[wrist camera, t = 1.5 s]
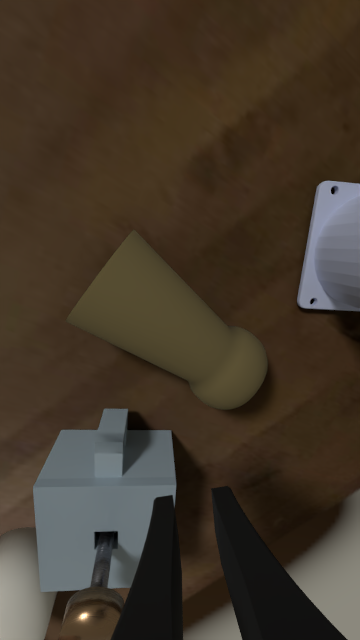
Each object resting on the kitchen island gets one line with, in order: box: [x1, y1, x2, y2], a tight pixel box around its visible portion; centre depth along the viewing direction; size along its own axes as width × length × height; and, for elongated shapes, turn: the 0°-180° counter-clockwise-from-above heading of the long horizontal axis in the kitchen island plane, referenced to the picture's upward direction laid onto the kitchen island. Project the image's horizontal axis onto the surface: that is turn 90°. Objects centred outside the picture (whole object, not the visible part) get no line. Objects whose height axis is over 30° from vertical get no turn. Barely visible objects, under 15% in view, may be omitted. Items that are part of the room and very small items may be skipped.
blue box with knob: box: [33, 409, 176, 592], centre depth 19 cm, size 8×10×5 cm
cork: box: [66, 230, 268, 410], centre depth 17 cm, size 6×6×11 cm
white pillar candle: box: [0, 527, 57, 640], centre depth 21 cm, size 6×6×6 cm
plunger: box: [58, 531, 124, 640], centre depth 16 cm, size 3×3×6 cm
